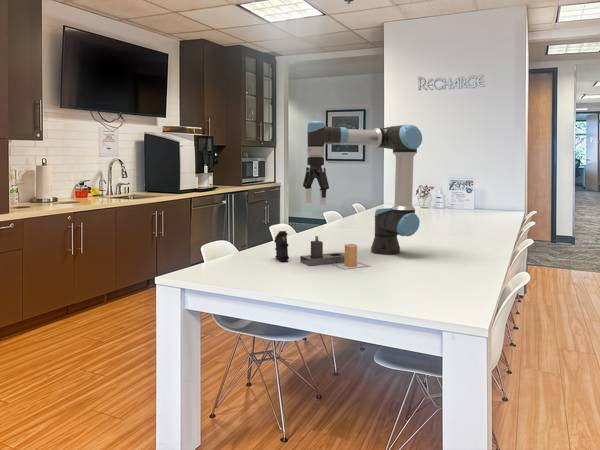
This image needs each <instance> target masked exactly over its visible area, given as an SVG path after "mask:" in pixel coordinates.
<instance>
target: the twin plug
mask: <svg viewBox="0 0 600 450" xmlns="http://www.w3.org/2000/svg"><path fill="white" fill-rule="evenodd" d="M323 247H324V242H323V241H321V240H319V236H318V235H315V236H314V240H310V255H311V257H313V258H320V257H323V254H324V253H323V251H324V248H323Z"/></svg>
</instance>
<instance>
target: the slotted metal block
mask: <svg viewBox="0 0 600 450" xmlns="http://www.w3.org/2000/svg"><path fill="white" fill-rule="evenodd" d="M344 255H345V252H331V253H323V257H320V258H313V257H311V254H310V255H309V254H308V255H301V256H300V258H299V259H300V263H301V264H303V265H306V266H308V267H313V266H316V267H317V266H325V265H326V266H327V265H330V264H336V263H344ZM336 265H337V264H336Z"/></svg>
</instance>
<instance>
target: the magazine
mask: <svg viewBox="0 0 600 450" xmlns="http://www.w3.org/2000/svg"><path fill="white" fill-rule="evenodd" d="M287 236H288V233H287V230H280V231H278V233H277V234H276V236H274V242H273V243H275V248H274V250H275V253H276V254H275V259H276V260H277V261H279V262H280V263H289V259H290V256H289V252H288V251H289V250H288V249H289V248H288V247H289V243H288V237H287Z"/></svg>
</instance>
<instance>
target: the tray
mask: <svg viewBox="0 0 600 450" xmlns="http://www.w3.org/2000/svg"><path fill="white" fill-rule="evenodd" d="M357 264H359V265H362V266H353V267H348V268H346V267H345V268H344V267H342V266H339V265H344V263H336V264H329V265H330V266H333V267H336V268H338V269H341V270H344V271H345V270H353V269H354V270H355V269H363V268H371V267H372V265H370V264H369V265H368V264H366V263H362V262H359V261H357Z"/></svg>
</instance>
